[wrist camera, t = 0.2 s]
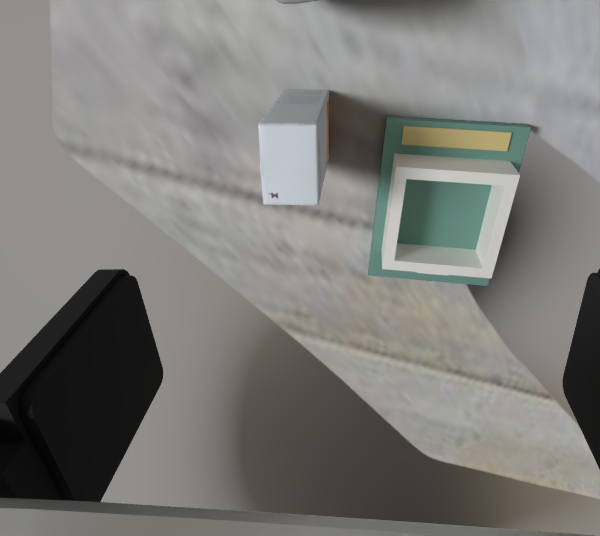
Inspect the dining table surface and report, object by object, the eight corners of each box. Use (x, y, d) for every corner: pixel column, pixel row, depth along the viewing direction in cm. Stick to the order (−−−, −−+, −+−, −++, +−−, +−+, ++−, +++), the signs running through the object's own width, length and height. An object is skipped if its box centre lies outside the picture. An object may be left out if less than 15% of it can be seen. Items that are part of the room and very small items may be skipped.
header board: (386, 115, 43) (388, 130, 39) (527, 124, 42) (543, 139, 38) (368, 270, 51) (368, 294, 47) (485, 280, 50) (495, 305, 46)
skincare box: (330, 155, 45) (319, 208, 35) (285, 154, 46) (261, 207, 36) (331, 87, 42) (318, 123, 32) (282, 87, 43) (254, 123, 33)
